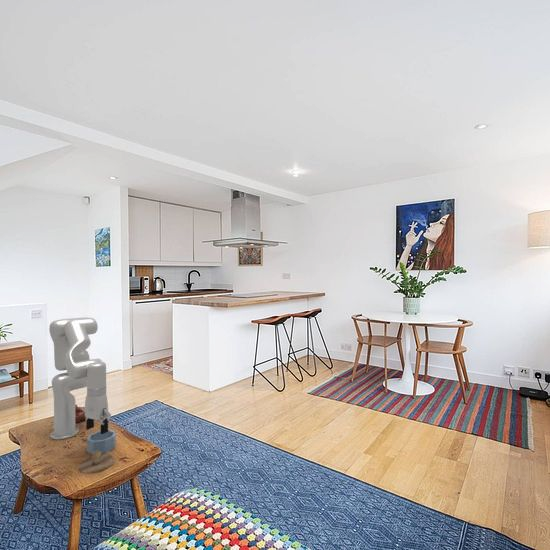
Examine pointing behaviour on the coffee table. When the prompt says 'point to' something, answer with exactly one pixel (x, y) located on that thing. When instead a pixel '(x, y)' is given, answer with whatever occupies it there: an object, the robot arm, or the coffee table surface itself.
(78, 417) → the anatomical model
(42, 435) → the coffee table surface
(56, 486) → the coffee table surface
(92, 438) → the bowl
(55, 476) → the coffee table surface
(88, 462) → the lid
